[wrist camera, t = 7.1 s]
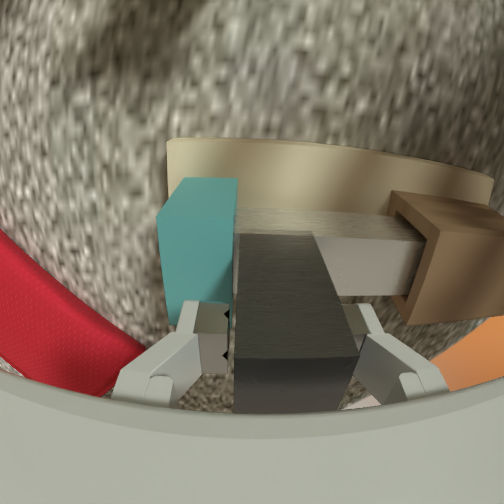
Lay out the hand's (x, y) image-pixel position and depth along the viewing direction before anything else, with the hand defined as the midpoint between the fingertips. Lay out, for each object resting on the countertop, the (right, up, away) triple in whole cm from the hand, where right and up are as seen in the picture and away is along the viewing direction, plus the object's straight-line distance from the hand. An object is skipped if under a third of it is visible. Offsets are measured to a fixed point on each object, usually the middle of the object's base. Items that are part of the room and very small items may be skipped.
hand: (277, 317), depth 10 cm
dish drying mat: (-29, +3, +9) cm, 31 cm away
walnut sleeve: (+11, +3, +7) cm, 13 cm away
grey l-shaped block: (+3, +3, +6) cm, 7 cm away
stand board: (+5, +4, +8) cm, 10 cm away
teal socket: (-3, +4, +7) cm, 8 cm away
